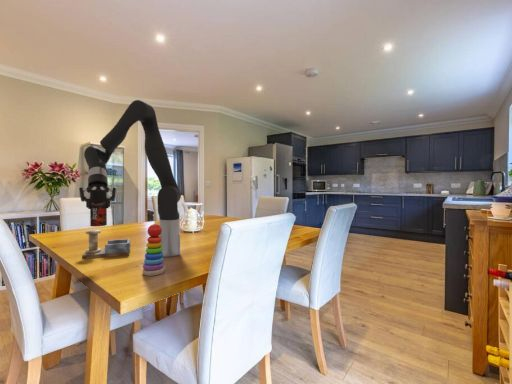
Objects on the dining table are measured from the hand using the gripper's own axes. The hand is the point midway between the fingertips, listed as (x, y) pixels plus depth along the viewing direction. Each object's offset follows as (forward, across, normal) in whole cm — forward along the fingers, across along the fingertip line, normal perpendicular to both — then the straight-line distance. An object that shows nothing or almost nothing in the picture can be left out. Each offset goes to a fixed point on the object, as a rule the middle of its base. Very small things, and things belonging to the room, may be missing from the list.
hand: (98, 207), depth 107 cm
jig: (+4, +4, +30) cm, 31 cm away
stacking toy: (+33, +17, +2) cm, 37 cm away
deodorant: (+4, 0, +7) cm, 8 cm away
